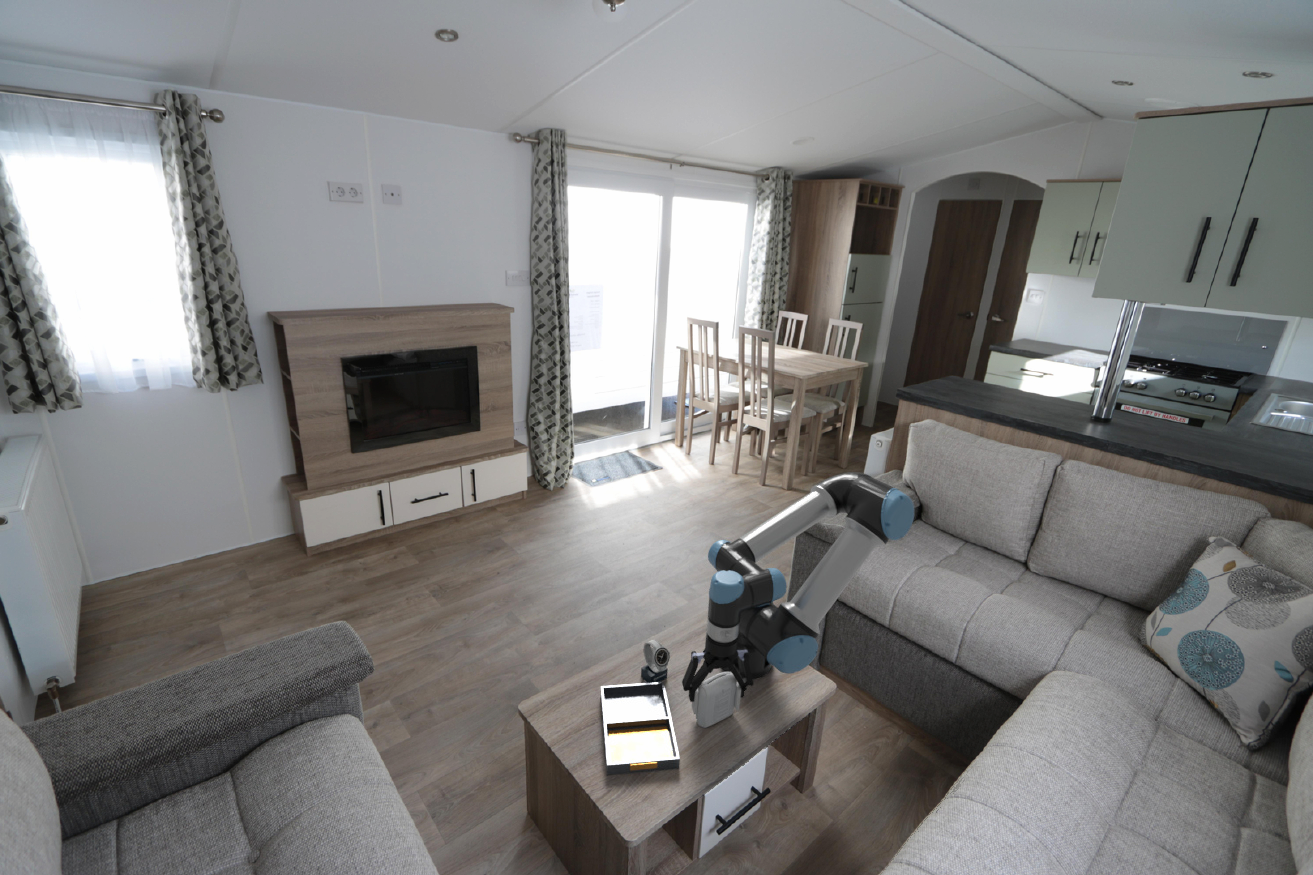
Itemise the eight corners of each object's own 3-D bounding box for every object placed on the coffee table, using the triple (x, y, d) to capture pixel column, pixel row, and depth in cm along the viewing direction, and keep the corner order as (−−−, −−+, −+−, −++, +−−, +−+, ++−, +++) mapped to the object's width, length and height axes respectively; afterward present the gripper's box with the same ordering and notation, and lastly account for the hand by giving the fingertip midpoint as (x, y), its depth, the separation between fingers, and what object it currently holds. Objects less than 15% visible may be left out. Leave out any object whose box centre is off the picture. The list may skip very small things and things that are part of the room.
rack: (663, 690, 159) (663, 681, 158) (679, 769, 137) (680, 759, 136) (600, 695, 157) (600, 686, 156) (607, 776, 134) (607, 766, 133)
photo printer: (725, 703, 156) (728, 664, 152) (735, 714, 152) (740, 674, 148) (692, 719, 150) (695, 679, 146) (703, 731, 147) (706, 690, 143)
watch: (655, 690, 159) (656, 656, 155) (637, 672, 165) (638, 639, 161) (671, 682, 162) (673, 648, 158) (653, 664, 168) (655, 631, 164)
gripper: (677, 647, 138) (672, 723, 145) (773, 641, 141) (763, 716, 149) (672, 626, 145) (667, 700, 152) (763, 620, 148) (754, 693, 156)
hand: (715, 708), depth 150 cm, fingers closed on photo printer, 10 cm apart
